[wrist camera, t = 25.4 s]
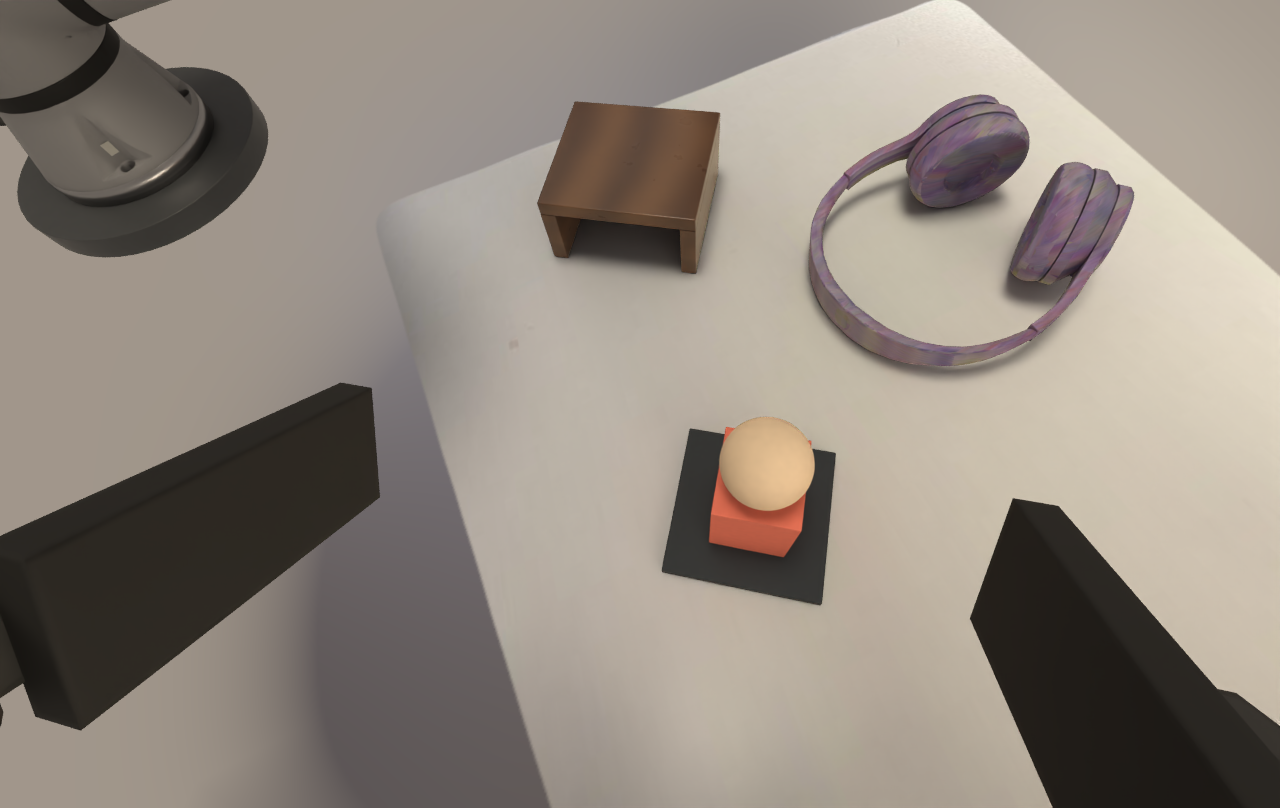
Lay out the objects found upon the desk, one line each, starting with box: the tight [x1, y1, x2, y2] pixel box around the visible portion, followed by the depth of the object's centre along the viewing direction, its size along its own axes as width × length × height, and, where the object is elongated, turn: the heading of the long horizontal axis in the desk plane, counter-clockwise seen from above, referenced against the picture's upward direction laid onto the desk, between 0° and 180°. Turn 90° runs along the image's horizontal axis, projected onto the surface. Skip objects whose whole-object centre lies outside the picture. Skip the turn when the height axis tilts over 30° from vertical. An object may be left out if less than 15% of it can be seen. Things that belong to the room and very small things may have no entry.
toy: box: [709, 417, 815, 557], centre depth 34 cm, size 5×5×12 cm
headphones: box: [809, 95, 1134, 366], centre depth 44 cm, size 18×8×20 cm
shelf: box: [537, 102, 720, 273], centre depth 49 cm, size 12×11×6 cm
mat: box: [662, 429, 836, 605], centre depth 40 cm, size 10×10×1 cm
